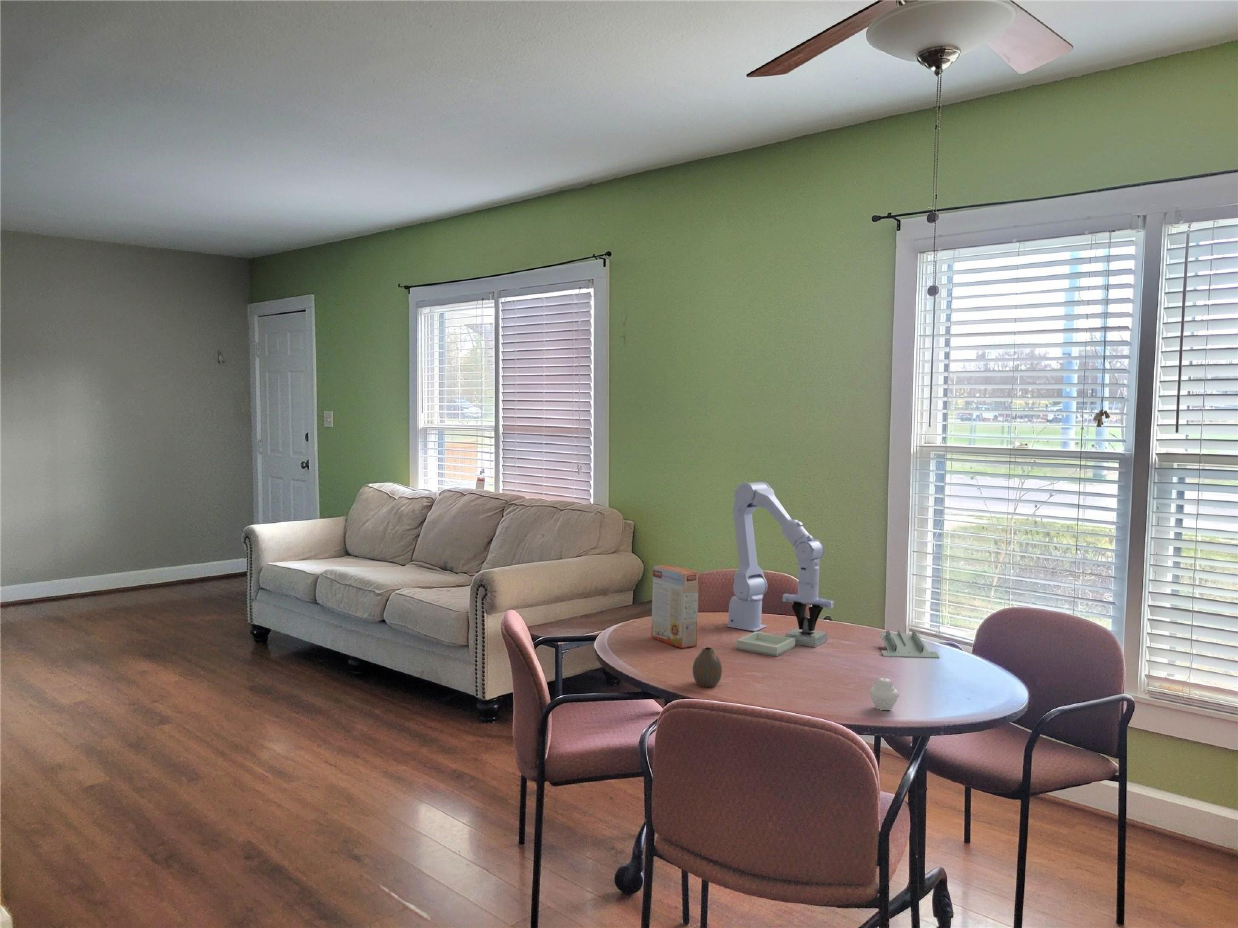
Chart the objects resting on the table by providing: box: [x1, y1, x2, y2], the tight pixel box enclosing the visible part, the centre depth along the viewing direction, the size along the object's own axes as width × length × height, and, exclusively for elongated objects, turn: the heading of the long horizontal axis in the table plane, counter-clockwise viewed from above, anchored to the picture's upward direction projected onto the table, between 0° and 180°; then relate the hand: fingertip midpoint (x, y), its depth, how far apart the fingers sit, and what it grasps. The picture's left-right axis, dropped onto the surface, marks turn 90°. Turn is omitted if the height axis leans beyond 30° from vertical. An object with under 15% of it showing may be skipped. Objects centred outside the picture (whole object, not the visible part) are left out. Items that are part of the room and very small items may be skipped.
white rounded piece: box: [869, 677, 900, 711], centre depth 192 cm, size 6×6×7 cm
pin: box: [802, 615, 811, 635], centre depth 248 cm, size 3×3×7 cm
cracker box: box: [650, 564, 700, 649], centre depth 243 cm, size 14×6×21 cm, turn 34°
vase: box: [692, 646, 723, 688], centre depth 206 cm, size 7×7×9 cm
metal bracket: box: [879, 629, 940, 660], centre depth 240 cm, size 14×6×15 cm
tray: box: [736, 630, 796, 657], centre depth 240 cm, size 12×12×2 cm
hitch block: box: [784, 626, 828, 648], centre depth 248 cm, size 9×9×2 cm
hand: (806, 629), depth 248 cm, fingers closed on pin, 3 cm apart
